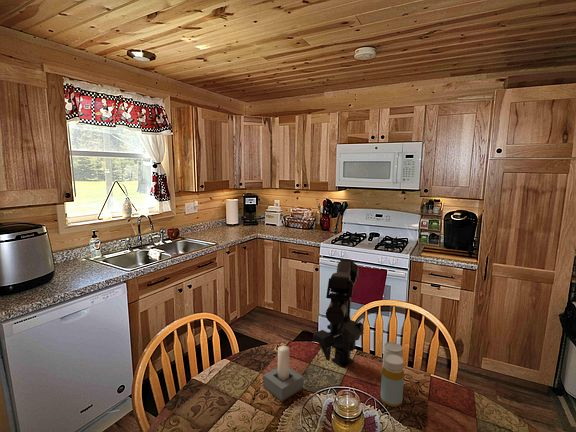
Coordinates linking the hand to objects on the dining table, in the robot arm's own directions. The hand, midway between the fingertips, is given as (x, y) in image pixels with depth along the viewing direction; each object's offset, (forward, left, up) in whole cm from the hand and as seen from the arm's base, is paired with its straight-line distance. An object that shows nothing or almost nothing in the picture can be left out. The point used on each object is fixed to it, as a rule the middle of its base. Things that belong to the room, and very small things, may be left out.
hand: (336, 355), depth 110 cm
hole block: (+13, -14, -13) cm, 23 cm away
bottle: (-10, +15, -13) cm, 23 cm away
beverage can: (-17, +11, -13) cm, 25 cm away
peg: (+13, -14, -13) cm, 22 cm away
